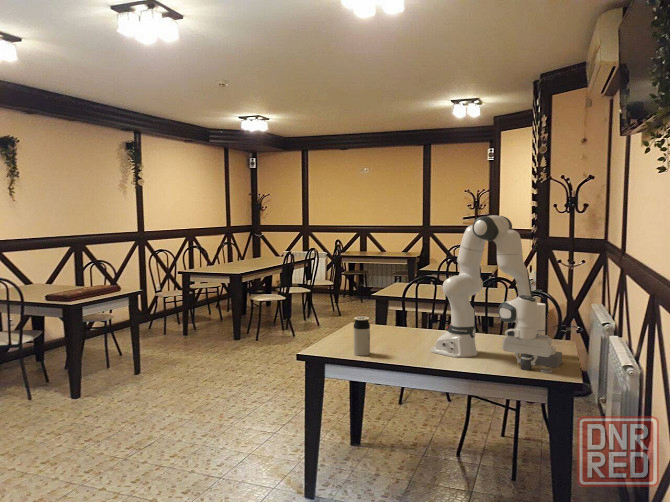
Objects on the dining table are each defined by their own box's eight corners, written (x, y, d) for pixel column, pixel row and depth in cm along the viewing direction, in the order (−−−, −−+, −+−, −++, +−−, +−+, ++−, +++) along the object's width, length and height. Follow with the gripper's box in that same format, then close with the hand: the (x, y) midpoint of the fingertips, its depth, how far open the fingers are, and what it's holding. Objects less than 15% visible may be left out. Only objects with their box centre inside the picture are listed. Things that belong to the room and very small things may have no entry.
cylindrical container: (543, 357, 243) (544, 305, 242) (527, 355, 247) (528, 304, 245) (545, 354, 249) (546, 303, 248) (530, 352, 253) (531, 302, 252)
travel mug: (351, 355, 250) (351, 318, 249) (356, 351, 258) (356, 316, 257) (367, 356, 247) (367, 319, 246) (371, 352, 255) (371, 316, 254)
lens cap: (538, 372, 221) (538, 370, 220) (541, 369, 225) (541, 367, 225) (550, 374, 218) (550, 372, 218) (553, 371, 222) (553, 369, 222)
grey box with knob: (529, 363, 233) (529, 347, 233) (534, 359, 241) (534, 343, 240) (557, 367, 226) (557, 351, 226) (561, 363, 234) (562, 346, 233)
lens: (519, 369, 224) (519, 353, 224) (522, 367, 228) (522, 351, 228) (530, 371, 222) (530, 355, 221) (532, 368, 225) (533, 353, 225)
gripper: (553, 334, 221) (552, 365, 221) (505, 328, 232) (505, 358, 233) (550, 337, 215) (549, 369, 216) (501, 331, 227) (501, 362, 228)
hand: (526, 363), depth 225 cm, fingers closed on lens, 4 cm apart
